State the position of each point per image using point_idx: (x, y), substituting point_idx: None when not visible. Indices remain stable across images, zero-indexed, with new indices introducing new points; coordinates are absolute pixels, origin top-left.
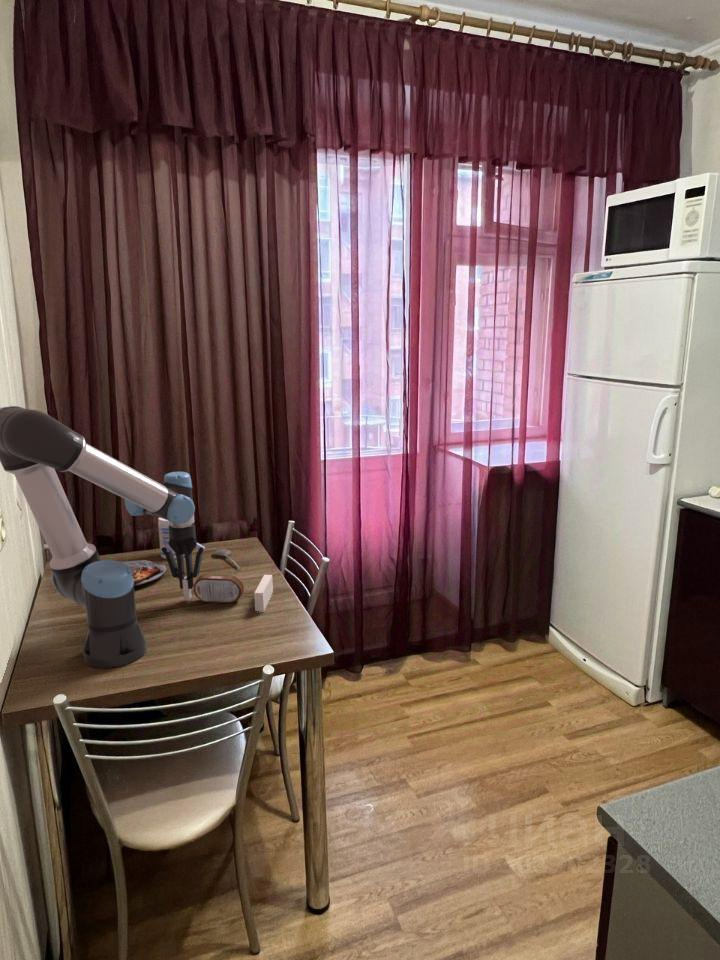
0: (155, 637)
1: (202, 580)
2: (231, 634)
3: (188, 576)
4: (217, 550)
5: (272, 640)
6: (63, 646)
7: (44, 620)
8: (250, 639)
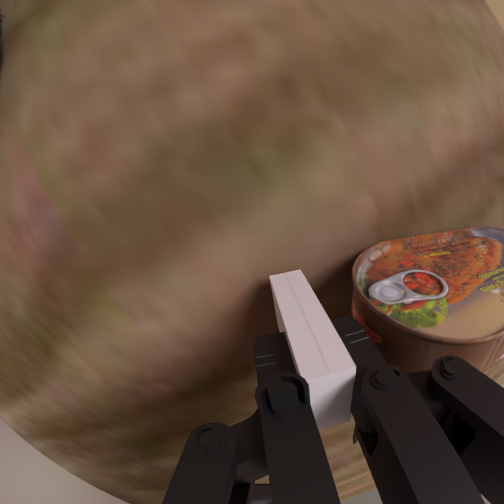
0: None
1: None
2: None
3: (374, 437)
4: None
5: (501, 379)
6: (131, 489)
7: (5, 416)
8: None
